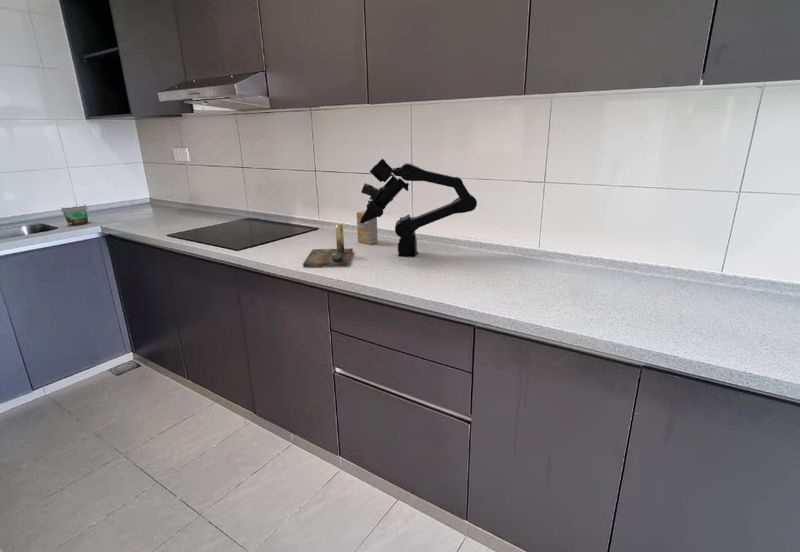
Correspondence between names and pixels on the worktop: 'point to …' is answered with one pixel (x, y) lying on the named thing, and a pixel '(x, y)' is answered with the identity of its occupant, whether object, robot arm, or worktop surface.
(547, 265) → the worktop surface
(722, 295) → the worktop surface
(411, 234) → the robot arm
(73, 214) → the food container
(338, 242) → the tuning lever
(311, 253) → the dial board
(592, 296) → the worktop surface
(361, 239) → the supplement box
